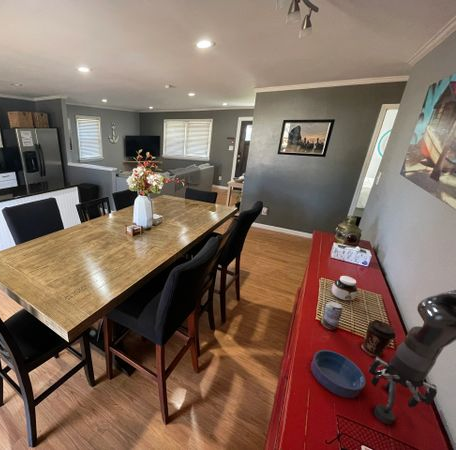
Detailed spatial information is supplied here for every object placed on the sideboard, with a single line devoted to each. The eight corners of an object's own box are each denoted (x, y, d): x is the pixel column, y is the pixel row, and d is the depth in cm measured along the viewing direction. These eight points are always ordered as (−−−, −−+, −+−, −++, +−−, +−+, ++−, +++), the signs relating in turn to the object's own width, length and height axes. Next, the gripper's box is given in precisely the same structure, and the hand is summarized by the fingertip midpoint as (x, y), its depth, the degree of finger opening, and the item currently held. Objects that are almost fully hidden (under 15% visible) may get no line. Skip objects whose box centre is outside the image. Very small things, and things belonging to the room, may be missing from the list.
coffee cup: (361, 338, 105) (372, 315, 100) (386, 351, 100) (399, 327, 95) (356, 348, 100) (367, 325, 95) (382, 362, 94) (395, 338, 89)
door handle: (391, 427, 74) (401, 413, 71) (373, 416, 77) (381, 402, 74) (394, 392, 84) (403, 379, 81) (378, 383, 87) (385, 370, 84)
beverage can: (323, 330, 109) (331, 309, 104) (317, 318, 116) (324, 298, 111) (338, 333, 108) (347, 312, 103) (332, 321, 114) (340, 301, 110)
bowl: (363, 378, 88) (368, 369, 86) (356, 409, 78) (361, 399, 76) (316, 352, 98) (320, 343, 96) (305, 376, 88) (308, 367, 86)
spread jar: (332, 299, 129) (339, 281, 125) (326, 287, 139) (332, 270, 135) (359, 304, 126) (367, 286, 121) (350, 291, 136) (358, 274, 131)
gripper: (380, 351, 74) (361, 386, 80) (450, 385, 64) (422, 421, 70) (383, 337, 78) (365, 371, 85) (447, 367, 69) (422, 403, 75)
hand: (391, 394), depth 78 cm, fingers open, 8 cm apart
